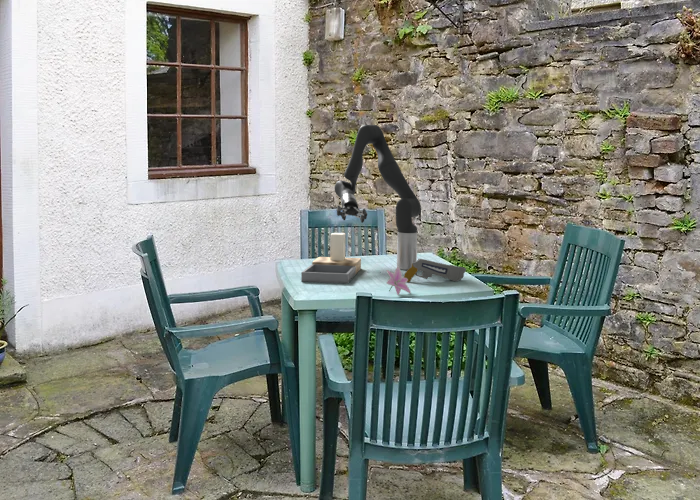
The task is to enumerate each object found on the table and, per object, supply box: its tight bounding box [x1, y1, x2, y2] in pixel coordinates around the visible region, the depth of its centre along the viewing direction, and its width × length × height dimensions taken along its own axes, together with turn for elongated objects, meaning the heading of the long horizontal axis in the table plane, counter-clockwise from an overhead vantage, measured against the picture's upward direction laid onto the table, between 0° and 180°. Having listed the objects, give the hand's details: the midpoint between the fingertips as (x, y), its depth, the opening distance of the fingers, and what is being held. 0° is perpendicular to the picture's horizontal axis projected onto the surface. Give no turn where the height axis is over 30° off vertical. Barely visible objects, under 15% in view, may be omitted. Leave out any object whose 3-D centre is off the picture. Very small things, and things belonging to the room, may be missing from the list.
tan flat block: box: [311, 256, 362, 275], centre depth 346 cm, size 20×16×5 cm
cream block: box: [329, 232, 347, 261], centre depth 347 cm, size 6×6×12 cm
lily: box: [386, 265, 412, 296], centre depth 298 cm, size 12×12×10 cm
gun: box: [403, 258, 467, 283], centre depth 323 cm, size 3×25×15 cm, turn 100°
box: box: [300, 263, 357, 284], centre depth 327 cm, size 20×22×4 cm
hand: (353, 219), depth 350 cm, fingers open, 8 cm apart
